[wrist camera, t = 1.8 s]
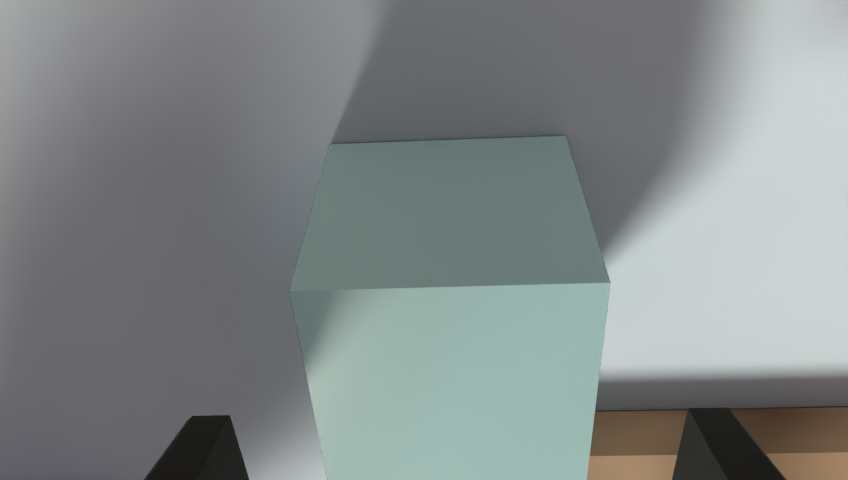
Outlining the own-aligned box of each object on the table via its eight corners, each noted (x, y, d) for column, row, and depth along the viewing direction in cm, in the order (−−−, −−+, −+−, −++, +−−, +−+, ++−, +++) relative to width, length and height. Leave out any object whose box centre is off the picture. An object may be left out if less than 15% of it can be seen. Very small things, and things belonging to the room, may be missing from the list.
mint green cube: (354, 321, 18) (329, 489, 14) (330, 144, 16) (288, 290, 11) (554, 316, 18) (585, 486, 14) (565, 135, 15) (610, 282, 11)
